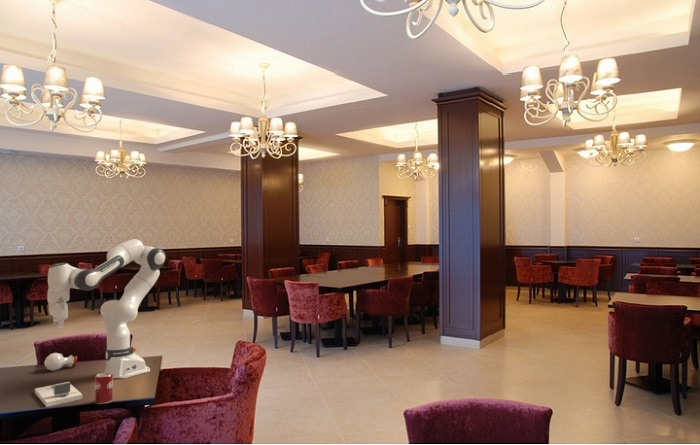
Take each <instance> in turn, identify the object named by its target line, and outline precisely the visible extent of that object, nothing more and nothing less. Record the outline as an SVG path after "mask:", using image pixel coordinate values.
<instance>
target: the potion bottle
mask: <svg viewBox="0 0 700 445" xmlns="http://www.w3.org/2000/svg"><path fill="white" fill-rule="evenodd" d="M77 358H78V356H77V355H75V356H73V355H72V354H71V355H69V356H68V357H67V356H66V357H64V355H63V354H62V353H58V352H53V353H50V354H49V355H47V356H46V358H45V360H44V362H43V363H44V367H45V368H46V369H47V370H48V371H51V372H55V371H58V370H60V369H61V368H62V367H63V366H68V367H69V368H72V366H73V367H76V366H77V361H78V359H77Z"/></svg>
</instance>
